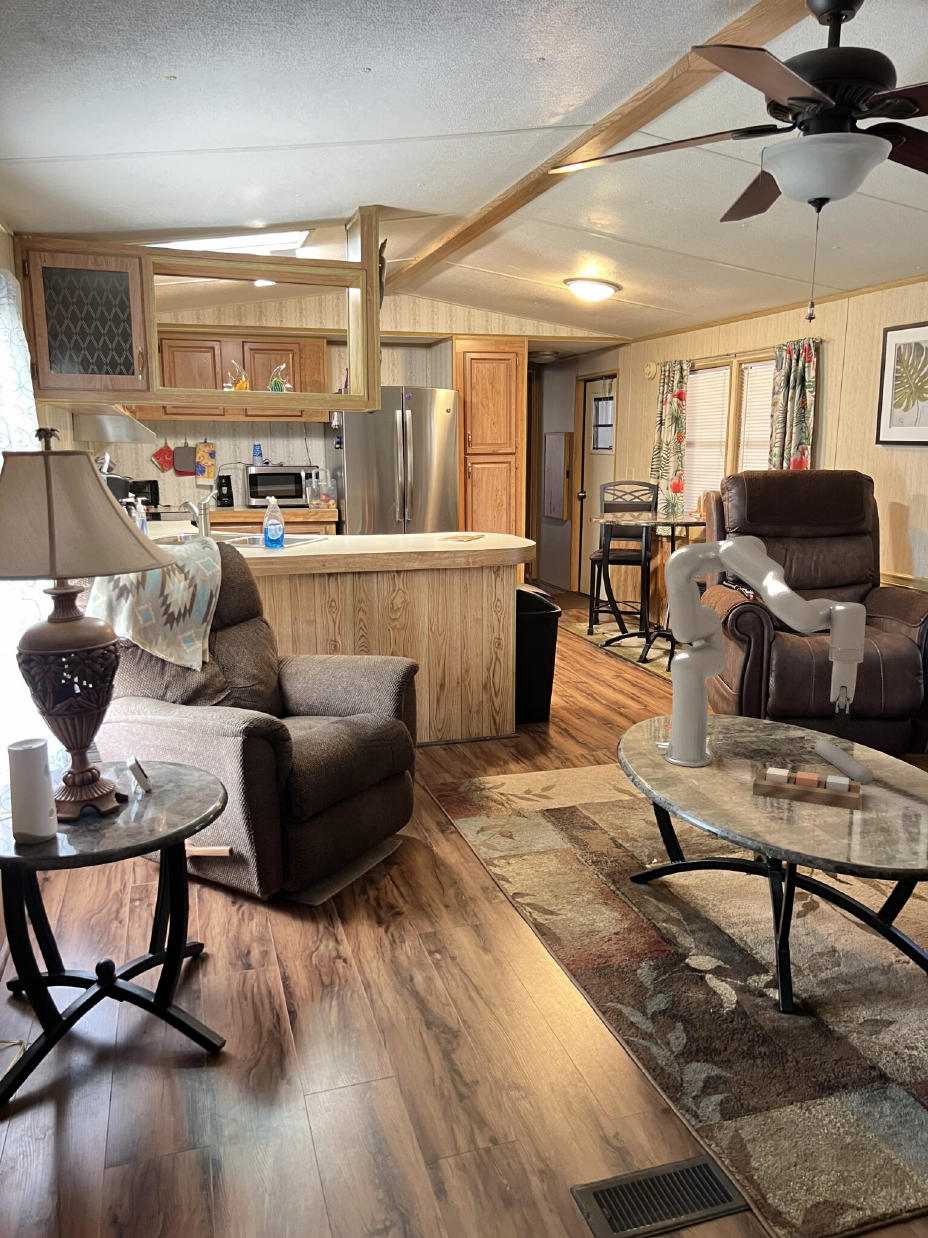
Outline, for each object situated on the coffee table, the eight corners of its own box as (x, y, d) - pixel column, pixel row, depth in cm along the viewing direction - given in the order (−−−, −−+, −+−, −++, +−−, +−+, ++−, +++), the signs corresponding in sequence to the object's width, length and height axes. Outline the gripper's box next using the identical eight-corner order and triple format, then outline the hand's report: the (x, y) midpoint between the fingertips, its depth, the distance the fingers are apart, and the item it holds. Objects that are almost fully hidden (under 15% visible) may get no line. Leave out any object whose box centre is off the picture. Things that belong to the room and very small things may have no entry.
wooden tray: (752, 794, 221) (753, 783, 221) (759, 779, 232) (759, 768, 232) (858, 810, 211) (858, 798, 211) (859, 793, 222) (860, 782, 222)
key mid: (795, 788, 220) (796, 777, 220) (797, 782, 225) (798, 771, 224) (816, 791, 218) (817, 780, 218) (817, 785, 223) (818, 774, 222)
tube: (880, 771, 227) (835, 741, 252) (861, 765, 226) (818, 735, 251) (872, 790, 228) (828, 758, 252) (853, 784, 227) (811, 753, 252)
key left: (765, 784, 223) (766, 773, 223) (768, 778, 228) (768, 767, 227) (786, 787, 221) (786, 775, 221) (788, 781, 226) (788, 770, 225)
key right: (826, 793, 217) (826, 781, 217) (827, 786, 222) (828, 775, 221) (847, 796, 215) (848, 784, 215) (848, 789, 220) (849, 778, 219)
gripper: (831, 647, 222) (827, 713, 225) (827, 660, 207) (823, 731, 210) (864, 649, 219) (860, 716, 222) (862, 662, 204) (857, 735, 206)
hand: (842, 723), depth 216 cm, fingers open, 9 cm apart
